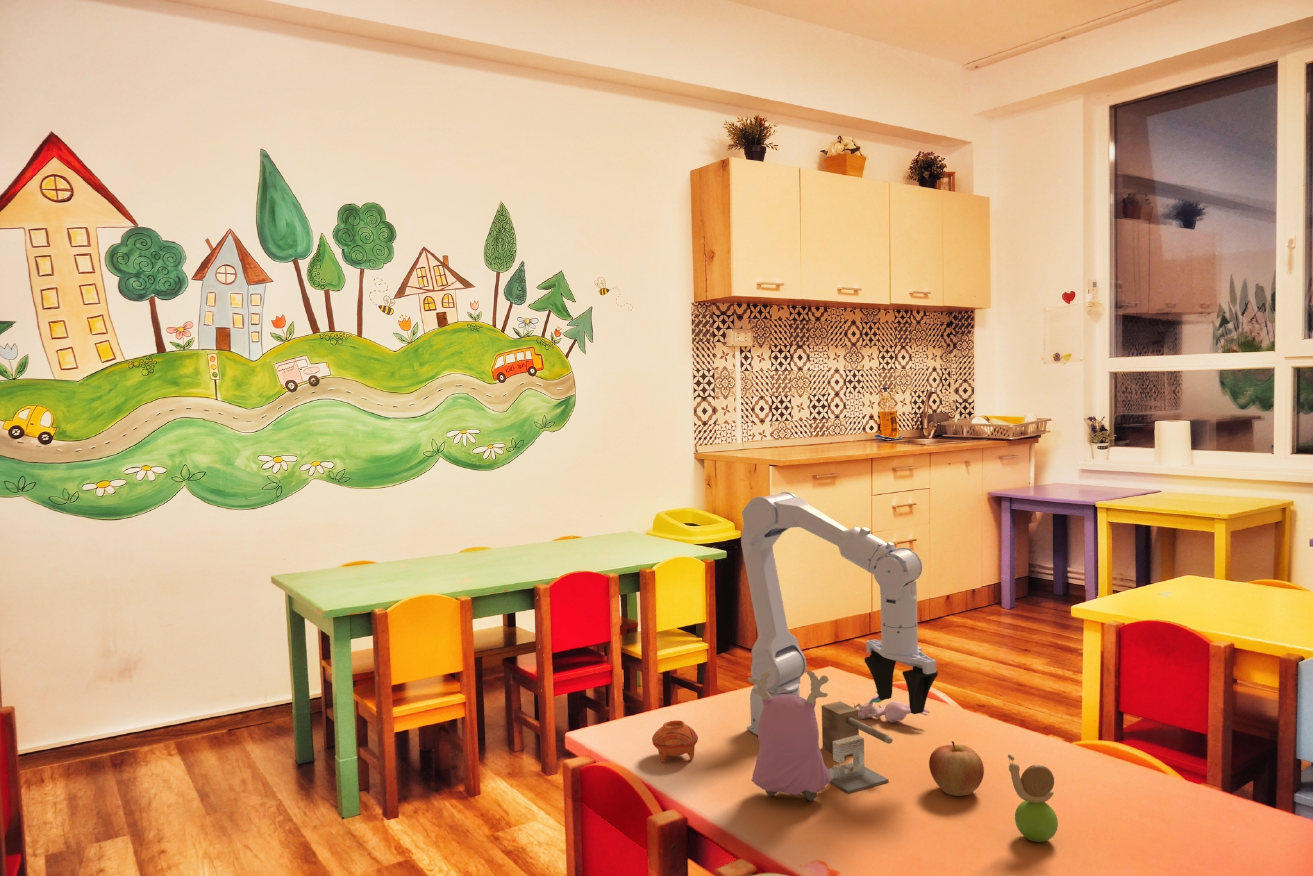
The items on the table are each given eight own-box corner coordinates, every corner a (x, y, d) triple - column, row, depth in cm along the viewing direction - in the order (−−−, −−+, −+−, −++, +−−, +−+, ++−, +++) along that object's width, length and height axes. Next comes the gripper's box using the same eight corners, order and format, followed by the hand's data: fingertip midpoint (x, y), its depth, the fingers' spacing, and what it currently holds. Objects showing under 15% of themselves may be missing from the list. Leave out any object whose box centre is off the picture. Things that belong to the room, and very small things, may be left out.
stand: (822, 747, 156) (821, 705, 156) (840, 742, 158) (839, 701, 157) (882, 780, 142) (881, 734, 142) (901, 775, 144) (900, 729, 143)
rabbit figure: (847, 727, 169) (925, 728, 160) (842, 696, 169) (919, 695, 161) (859, 716, 174) (935, 717, 166) (854, 686, 174) (929, 685, 166)
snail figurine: (1001, 832, 124) (999, 747, 124) (1045, 828, 125) (1043, 744, 124) (1020, 851, 119) (1018, 763, 118) (1066, 848, 119) (1064, 760, 119)
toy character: (835, 787, 140) (832, 662, 139) (825, 817, 130) (822, 682, 130) (759, 778, 144) (756, 657, 143) (745, 807, 134) (741, 676, 134)
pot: (677, 770, 148) (669, 729, 148) (648, 768, 153) (640, 729, 154) (711, 755, 153) (703, 715, 154) (682, 753, 159) (673, 715, 160)
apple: (927, 799, 135) (926, 748, 135) (931, 778, 142) (930, 729, 142) (983, 807, 132) (982, 754, 132) (985, 784, 139) (984, 734, 139)
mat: (817, 774, 145) (817, 772, 145) (856, 764, 149) (856, 761, 149) (848, 793, 138) (848, 790, 138) (888, 781, 141) (888, 779, 141)
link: (833, 778, 143) (832, 741, 142) (858, 771, 145) (857, 735, 145) (839, 781, 141) (838, 744, 141) (864, 774, 143) (863, 738, 143)
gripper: (950, 629, 141) (951, 714, 141) (888, 611, 154) (889, 688, 154) (916, 636, 138) (918, 722, 138) (855, 617, 151) (857, 696, 151)
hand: (900, 705), depth 146 cm, fingers open, 7 cm apart
